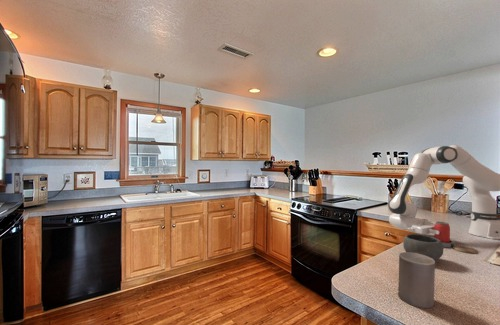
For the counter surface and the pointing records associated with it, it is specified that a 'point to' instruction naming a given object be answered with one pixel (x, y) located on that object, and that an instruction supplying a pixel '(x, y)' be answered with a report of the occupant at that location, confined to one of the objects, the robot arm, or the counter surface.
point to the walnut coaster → (465, 249)
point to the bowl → (423, 245)
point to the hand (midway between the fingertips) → (443, 232)
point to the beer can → (442, 232)
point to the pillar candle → (416, 279)
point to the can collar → (448, 244)
